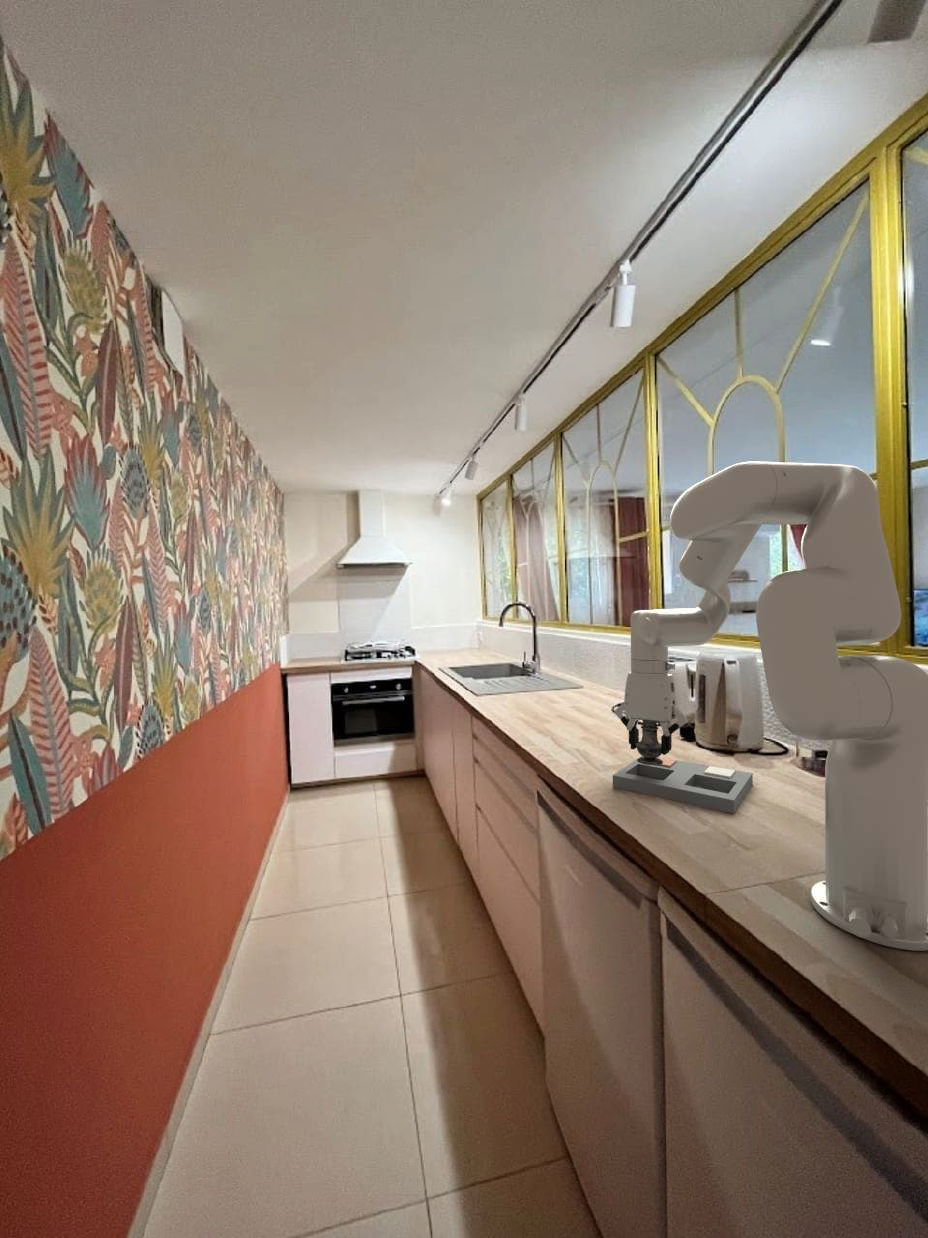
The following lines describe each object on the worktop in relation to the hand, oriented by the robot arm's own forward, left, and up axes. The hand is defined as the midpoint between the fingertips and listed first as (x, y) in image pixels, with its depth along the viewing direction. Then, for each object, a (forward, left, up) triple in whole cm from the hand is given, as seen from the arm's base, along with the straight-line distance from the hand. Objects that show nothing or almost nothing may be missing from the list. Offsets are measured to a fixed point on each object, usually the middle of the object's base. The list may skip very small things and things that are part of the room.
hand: (649, 749), depth 107 cm
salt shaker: (0, 0, -3) cm, 3 cm away
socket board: (+2, -6, -7) cm, 10 cm away
